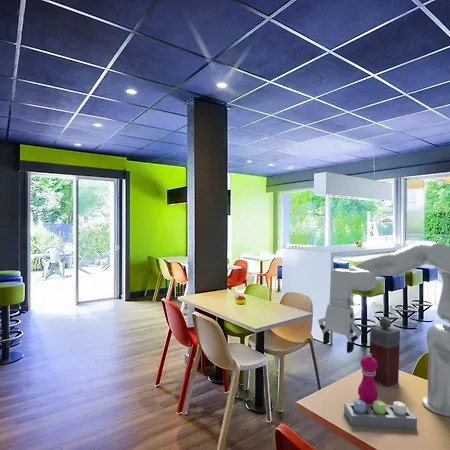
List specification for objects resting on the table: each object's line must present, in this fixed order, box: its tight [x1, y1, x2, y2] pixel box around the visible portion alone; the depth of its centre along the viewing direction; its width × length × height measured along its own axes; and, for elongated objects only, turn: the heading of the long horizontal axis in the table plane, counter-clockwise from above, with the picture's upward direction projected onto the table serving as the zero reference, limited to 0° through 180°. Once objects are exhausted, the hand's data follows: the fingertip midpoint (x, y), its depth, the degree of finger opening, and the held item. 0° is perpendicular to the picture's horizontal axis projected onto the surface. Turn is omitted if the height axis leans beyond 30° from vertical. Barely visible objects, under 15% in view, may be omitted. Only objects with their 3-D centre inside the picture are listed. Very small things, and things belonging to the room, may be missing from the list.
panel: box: [343, 402, 418, 430], centre depth 117 cm, size 22×8×4 cm, turn 88°
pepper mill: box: [357, 352, 379, 404], centre depth 127 cm, size 7×7×20 cm
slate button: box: [353, 399, 366, 414], centre depth 117 cm, size 4×4×4 cm
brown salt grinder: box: [368, 317, 401, 388], centre depth 147 cm, size 9×11×28 cm
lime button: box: [373, 399, 387, 415], centre depth 117 cm, size 4×4×4 cm
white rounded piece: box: [392, 400, 407, 416], centre depth 116 cm, size 4×4×4 cm
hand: (337, 347), depth 123 cm, fingers open, 9 cm apart
